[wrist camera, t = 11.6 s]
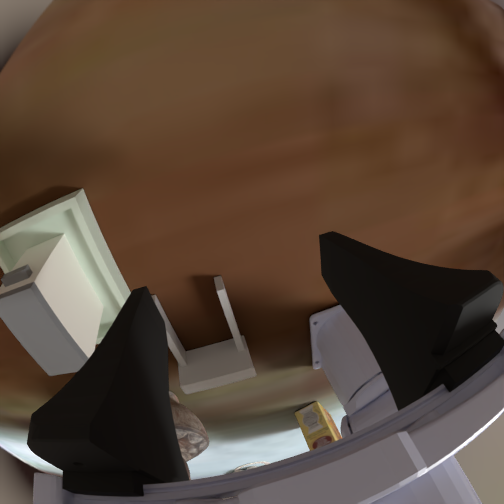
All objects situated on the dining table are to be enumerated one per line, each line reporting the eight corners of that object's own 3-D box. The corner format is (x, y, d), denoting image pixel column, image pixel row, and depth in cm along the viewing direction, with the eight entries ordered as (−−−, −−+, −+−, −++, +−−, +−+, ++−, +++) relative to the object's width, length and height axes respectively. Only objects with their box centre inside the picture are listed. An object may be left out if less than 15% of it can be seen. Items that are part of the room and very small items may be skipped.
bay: (246, 344, 28) (256, 375, 25) (182, 362, 27) (185, 394, 24) (224, 274, 23) (233, 306, 20) (145, 297, 23) (143, 331, 19)
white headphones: (229, 473, 52) (233, 488, 48) (231, 464, 48) (235, 480, 44) (266, 467, 54) (271, 481, 50) (271, 457, 50) (277, 472, 47)
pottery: (66, 431, 31) (62, 496, 21) (136, 358, 26) (137, 469, 16) (127, 451, 37) (131, 512, 27) (220, 392, 32) (241, 482, 22)
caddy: (103, 306, 21) (91, 369, 16) (67, 316, 21) (49, 375, 15) (61, 226, 17) (25, 279, 12) (23, 242, 17) (-15, 294, 11)
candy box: (292, 412, 39) (327, 498, 26) (317, 399, 38) (357, 485, 25) (311, 425, 43) (342, 497, 30) (332, 414, 43) (367, 485, 30)
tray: (144, 318, 24) (144, 332, 22) (64, 338, 23) (60, 352, 21) (82, 188, 17) (75, 196, 16) (-4, 229, 16) (-14, 240, 15)
